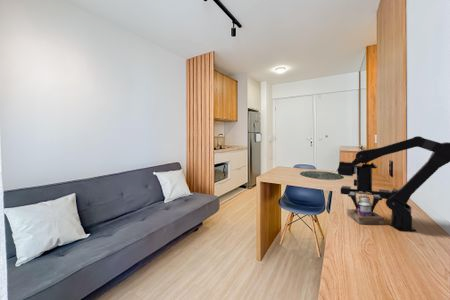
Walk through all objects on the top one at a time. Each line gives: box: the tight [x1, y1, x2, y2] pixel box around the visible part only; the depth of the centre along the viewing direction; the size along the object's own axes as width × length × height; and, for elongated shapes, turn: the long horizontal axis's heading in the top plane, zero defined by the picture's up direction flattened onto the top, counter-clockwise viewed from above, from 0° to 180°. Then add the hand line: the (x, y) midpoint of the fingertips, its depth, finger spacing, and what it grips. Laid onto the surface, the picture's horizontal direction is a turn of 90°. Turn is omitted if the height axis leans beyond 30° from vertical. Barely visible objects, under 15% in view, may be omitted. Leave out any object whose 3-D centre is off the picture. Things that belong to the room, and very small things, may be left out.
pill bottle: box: [357, 195, 372, 216], centre depth 89 cm, size 5×5×10 cm
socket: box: [346, 208, 385, 225], centre depth 89 cm, size 10×10×3 cm
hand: (364, 210), depth 89 cm, fingers closed on pill bottle, 5 cm apart
